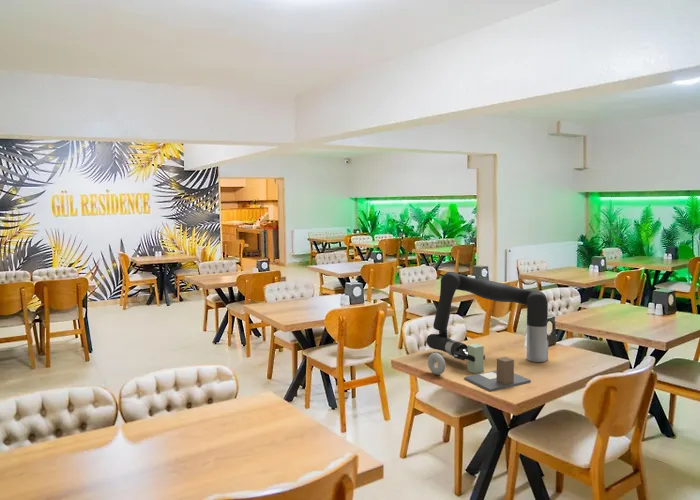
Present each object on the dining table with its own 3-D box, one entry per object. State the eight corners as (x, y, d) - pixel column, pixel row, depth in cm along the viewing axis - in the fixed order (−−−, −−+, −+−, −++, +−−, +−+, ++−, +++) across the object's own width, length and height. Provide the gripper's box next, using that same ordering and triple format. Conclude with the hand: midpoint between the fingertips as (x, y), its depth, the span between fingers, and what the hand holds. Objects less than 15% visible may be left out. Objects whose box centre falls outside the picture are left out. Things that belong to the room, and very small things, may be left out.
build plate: (503, 370, 244) (503, 347, 243) (530, 382, 228) (531, 357, 227) (464, 379, 234) (464, 354, 233) (490, 391, 219) (490, 365, 218)
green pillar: (476, 368, 248) (476, 343, 247) (483, 371, 243) (483, 346, 242) (467, 370, 246) (467, 345, 244) (474, 373, 241) (474, 347, 240)
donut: (447, 376, 238) (447, 354, 237) (441, 378, 236) (441, 356, 235) (431, 370, 246) (431, 349, 245) (426, 372, 244) (426, 351, 243)
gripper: (444, 343, 253) (466, 352, 238) (468, 339, 259) (492, 348, 244) (444, 359, 254) (466, 369, 239) (468, 354, 260) (492, 364, 245)
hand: (479, 358), depth 241 cm, fingers closed on green pillar, 5 cm apart
